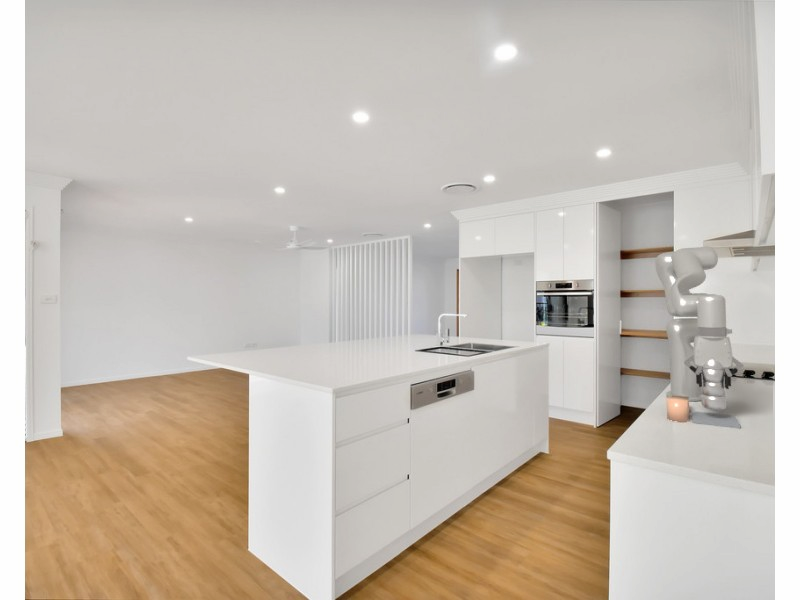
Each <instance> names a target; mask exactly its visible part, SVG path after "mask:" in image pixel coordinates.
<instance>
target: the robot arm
mask: <svg viewBox="0 0 800 600" xmlns="http://www.w3.org/2000/svg"><path fill="white" fill-rule="evenodd" d="M718 257H719V256H718V253H717V251H716V250H715V249H714V248H712V247H710V246H699V247H697V246H696V247H683V248H680V249H677V250H674V251H666V252H663V253H660V254H659V255H657V256H656V258H655V270H656V273H657V276H658V278H659V280H660V282H661V284H662V286H663V289H664V296H665V303H666V308H667V311H668V314H669V315H670V316H672V317H678V318H673V319H671V320H669V321H668V322H667V324H666V327H665V328H666V329H665V330H666V335H667V339H668V348H669V367H670V368H669V371H670V372H669V375H670V376H669V378H670V390H669V391H667V392H666V396H667V397H672V395H678V396H688V397H689V402H699V401H700V402H702V401H701V399H702V394H703V393H701V392H700V391H701V389H700V388H703V376H702V371H701V370H702V367H703V365H704V364H705V363H706V362H707V361H709V360H715V361H718V362H719V363H721V364H722V366H723V367H724V370H725V373H724V389H726V390H729V389H730V388H729V387H732V376H734V375H735V374H736V373H738V371H740V370H741V369H742V368H744V364H743V363H742V362H740V361H739V360H738V359H736V358H735V357H734V356H733V350H732V344H731V340H730V339H731V338H730V337H729V336H728V335H729V334H733V330H732V329H729V328H727V314H726V313H727V311H726V310H727V308H726V298H725V296H723V295H721V294H720V295H719V294H718V295H717V294H713V293H712V294H711V293H710V294H708V293H704V292H702V293H701V292H699V293H693V292H691V291H690V290H691V289H695V288H697V287H699V286H700V285H702V284H703V283H704V282H705V281H706V278H707V274H706V272H705V271H709V270H711V269H714V268H715V267H716V266H717V264H718V260H719V258H718ZM684 317H685V318H684ZM695 317H696V318H695ZM691 343H693V345H692V344H691ZM733 364H735V366H734V365H733ZM733 366H734V367H733ZM732 367H733V368H732ZM730 368H731V369H730Z"/></svg>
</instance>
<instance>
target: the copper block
mask: <svg viewBox="0 0 800 600" xmlns="http://www.w3.org/2000/svg"><path fill="white" fill-rule="evenodd" d="M672 397H682V398H686V399H688V412H689V413H690V401H689V397H688V396H678V395H672Z"/></svg>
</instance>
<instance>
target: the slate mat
mask: <svg viewBox="0 0 800 600" xmlns="http://www.w3.org/2000/svg"><path fill="white" fill-rule="evenodd" d="M690 415H692V416H691V420H692V423H693V424H698V423H701V424H700V425H707V424H708V425H709V426H715V425H717V427H724V426H726V427H727V428H733V427H735V428H734V429H741V424H740V422H739V421H738V420H739V419H738V418H737V417H736V415H733V414H725V413H724V414H722V413H713V412H705V411H704V412H703V411H695V410H694V411H693V410H691V411H690ZM726 427H725V428H726Z"/></svg>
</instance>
